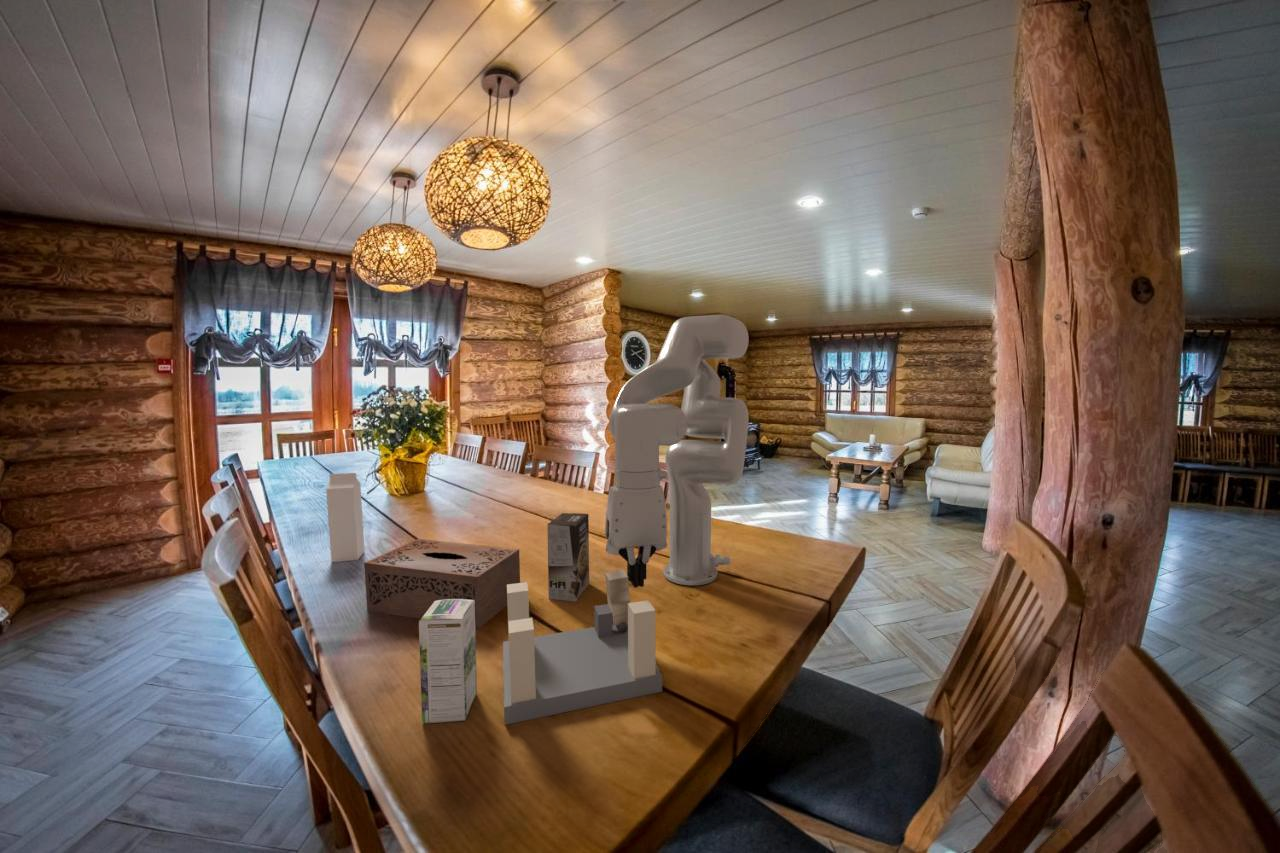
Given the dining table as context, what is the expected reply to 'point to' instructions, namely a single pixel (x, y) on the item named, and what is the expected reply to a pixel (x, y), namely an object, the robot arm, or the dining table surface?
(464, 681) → the syrup box
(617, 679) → the footstool
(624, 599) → the folding leg
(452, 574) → the tissue box cover
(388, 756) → the dining table surface
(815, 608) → the dining table surface
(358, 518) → the milk
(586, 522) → the coffee box
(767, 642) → the dining table surface
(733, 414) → the robot arm
